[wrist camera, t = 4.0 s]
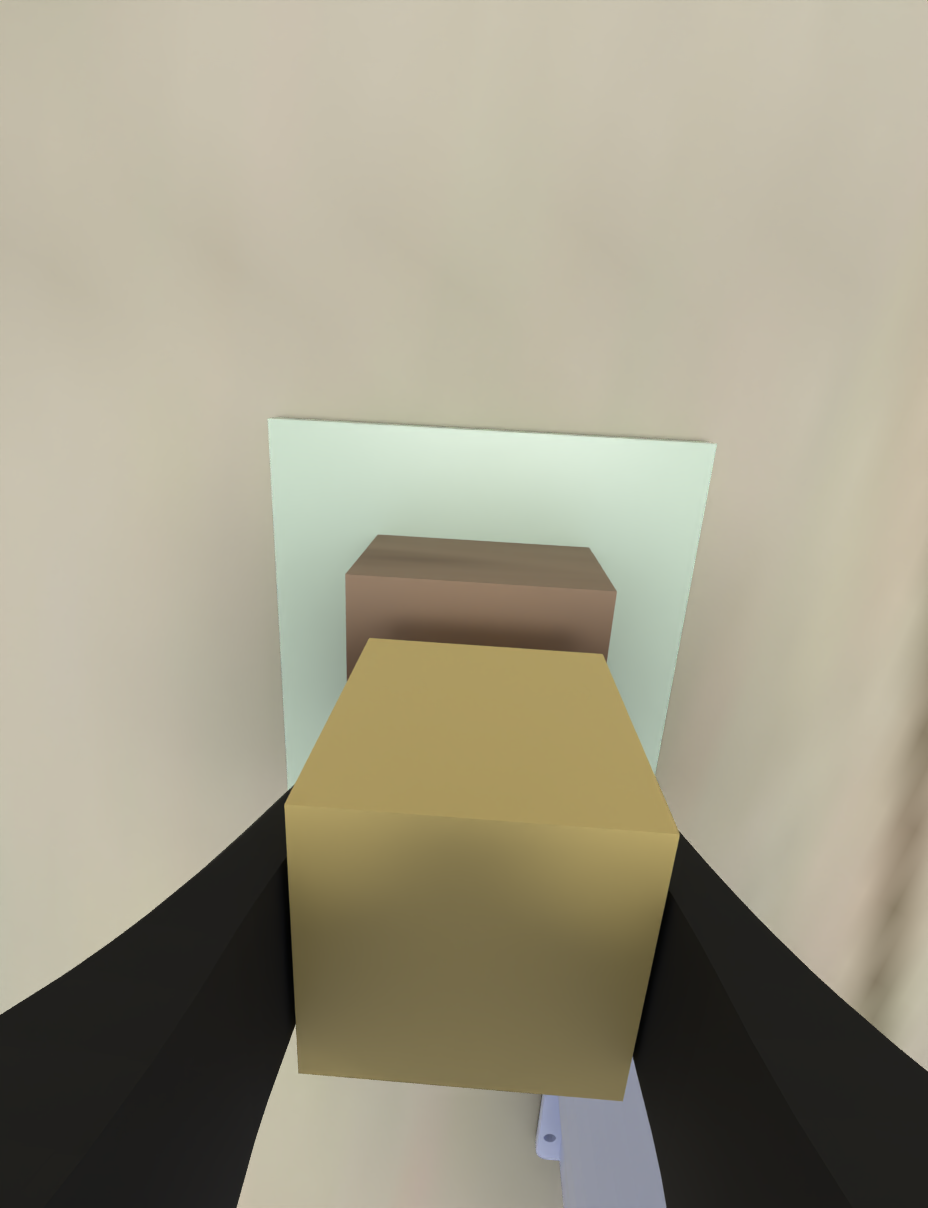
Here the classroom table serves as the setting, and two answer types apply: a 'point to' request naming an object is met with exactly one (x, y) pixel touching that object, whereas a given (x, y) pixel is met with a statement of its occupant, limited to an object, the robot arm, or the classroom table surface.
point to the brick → (476, 873)
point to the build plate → (481, 537)
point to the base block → (478, 595)
